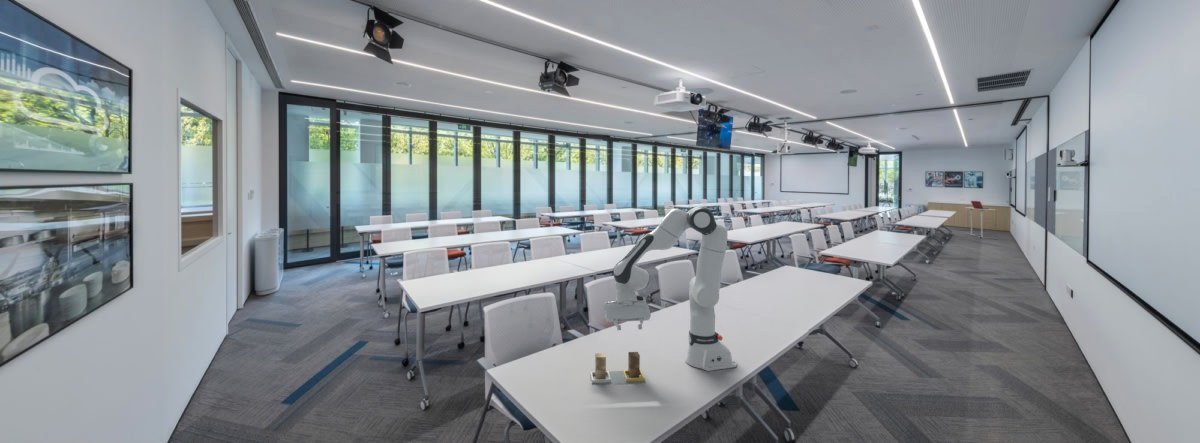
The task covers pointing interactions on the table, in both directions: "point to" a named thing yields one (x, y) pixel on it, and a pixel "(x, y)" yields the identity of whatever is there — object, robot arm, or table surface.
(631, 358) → the walnut pillar
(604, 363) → the oak pillar
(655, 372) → the table surface
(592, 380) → the base plate
